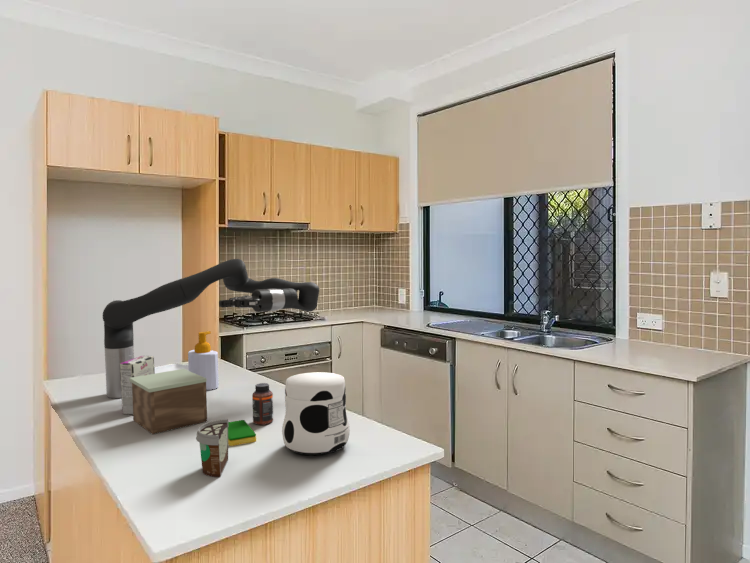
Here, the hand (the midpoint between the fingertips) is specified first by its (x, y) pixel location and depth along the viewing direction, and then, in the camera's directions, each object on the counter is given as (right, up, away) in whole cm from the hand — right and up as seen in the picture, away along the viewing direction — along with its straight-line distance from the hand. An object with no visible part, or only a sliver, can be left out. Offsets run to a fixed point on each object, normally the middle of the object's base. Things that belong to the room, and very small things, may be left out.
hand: (220, 304), depth 169 cm
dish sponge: (+11, -36, -21) cm, 43 cm away
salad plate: (-32, -32, +43) cm, 62 cm away
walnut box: (-12, -35, -9) cm, 38 cm away
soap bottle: (-15, -32, +29) cm, 46 cm away
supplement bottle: (+16, -35, -10) cm, 40 cm away
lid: (-13, -23, -10) cm, 28 cm away
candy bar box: (-27, -34, +3) cm, 43 cm away
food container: (+10, -37, -43) cm, 58 cm away
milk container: (+34, -36, -31) cm, 58 cm away
